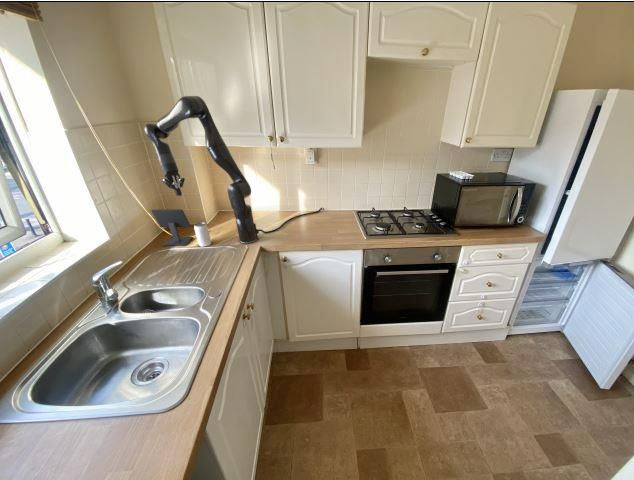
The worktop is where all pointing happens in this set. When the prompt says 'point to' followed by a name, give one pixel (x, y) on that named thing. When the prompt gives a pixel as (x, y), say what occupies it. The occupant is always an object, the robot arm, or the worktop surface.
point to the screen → (171, 217)
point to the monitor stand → (176, 237)
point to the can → (202, 234)
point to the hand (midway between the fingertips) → (179, 195)
